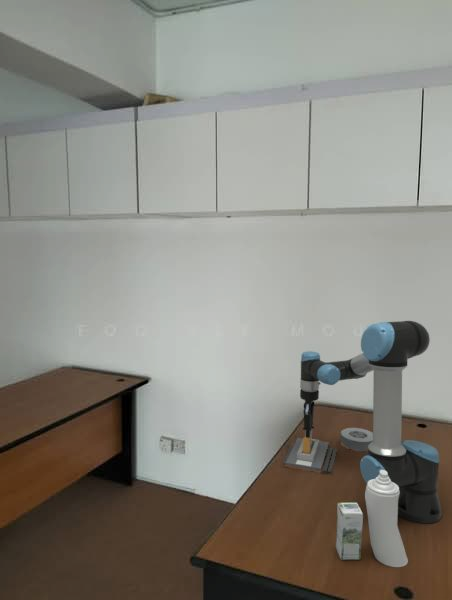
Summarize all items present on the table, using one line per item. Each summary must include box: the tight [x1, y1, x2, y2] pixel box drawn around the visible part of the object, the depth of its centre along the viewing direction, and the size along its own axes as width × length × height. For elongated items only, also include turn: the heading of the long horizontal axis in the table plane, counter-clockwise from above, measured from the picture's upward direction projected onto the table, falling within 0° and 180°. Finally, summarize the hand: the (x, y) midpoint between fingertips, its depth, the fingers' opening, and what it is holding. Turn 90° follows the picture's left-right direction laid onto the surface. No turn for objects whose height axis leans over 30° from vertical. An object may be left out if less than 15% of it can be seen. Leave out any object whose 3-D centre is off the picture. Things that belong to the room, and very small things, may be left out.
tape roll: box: [340, 427, 373, 451], centre depth 207 cm, size 15×15×5 cm
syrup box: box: [335, 502, 364, 561], centre depth 132 cm, size 6×6×14 cm
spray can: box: [364, 470, 409, 568], centre depth 131 cm, size 12×11×25 cm
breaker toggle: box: [302, 436, 311, 454], centre depth 190 cm, size 3×3×8 cm
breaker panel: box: [281, 437, 338, 475], centre depth 194 cm, size 26×20×4 cm
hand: (308, 443), depth 192 cm, fingers closed
